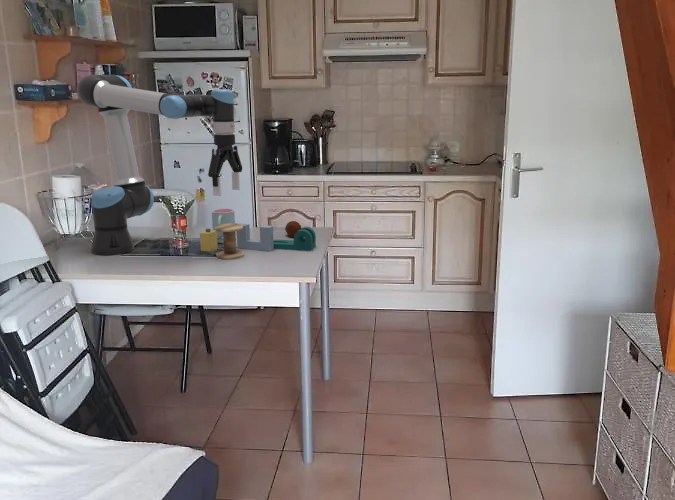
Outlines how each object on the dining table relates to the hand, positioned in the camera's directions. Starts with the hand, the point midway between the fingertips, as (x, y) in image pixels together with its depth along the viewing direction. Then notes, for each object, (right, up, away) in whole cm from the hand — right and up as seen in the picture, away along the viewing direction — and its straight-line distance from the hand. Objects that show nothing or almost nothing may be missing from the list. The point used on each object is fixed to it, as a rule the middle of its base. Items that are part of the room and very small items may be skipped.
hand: (226, 192), depth 230 cm
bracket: (+23, -21, +11) cm, 32 cm away
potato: (+22, -15, +29) cm, 40 cm away
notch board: (+9, -21, +9) cm, 24 cm away
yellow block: (-8, -21, +9) cm, 24 cm away
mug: (-7, -15, +31) cm, 35 cm away
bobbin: (+1, -23, 0) cm, 23 cm away
